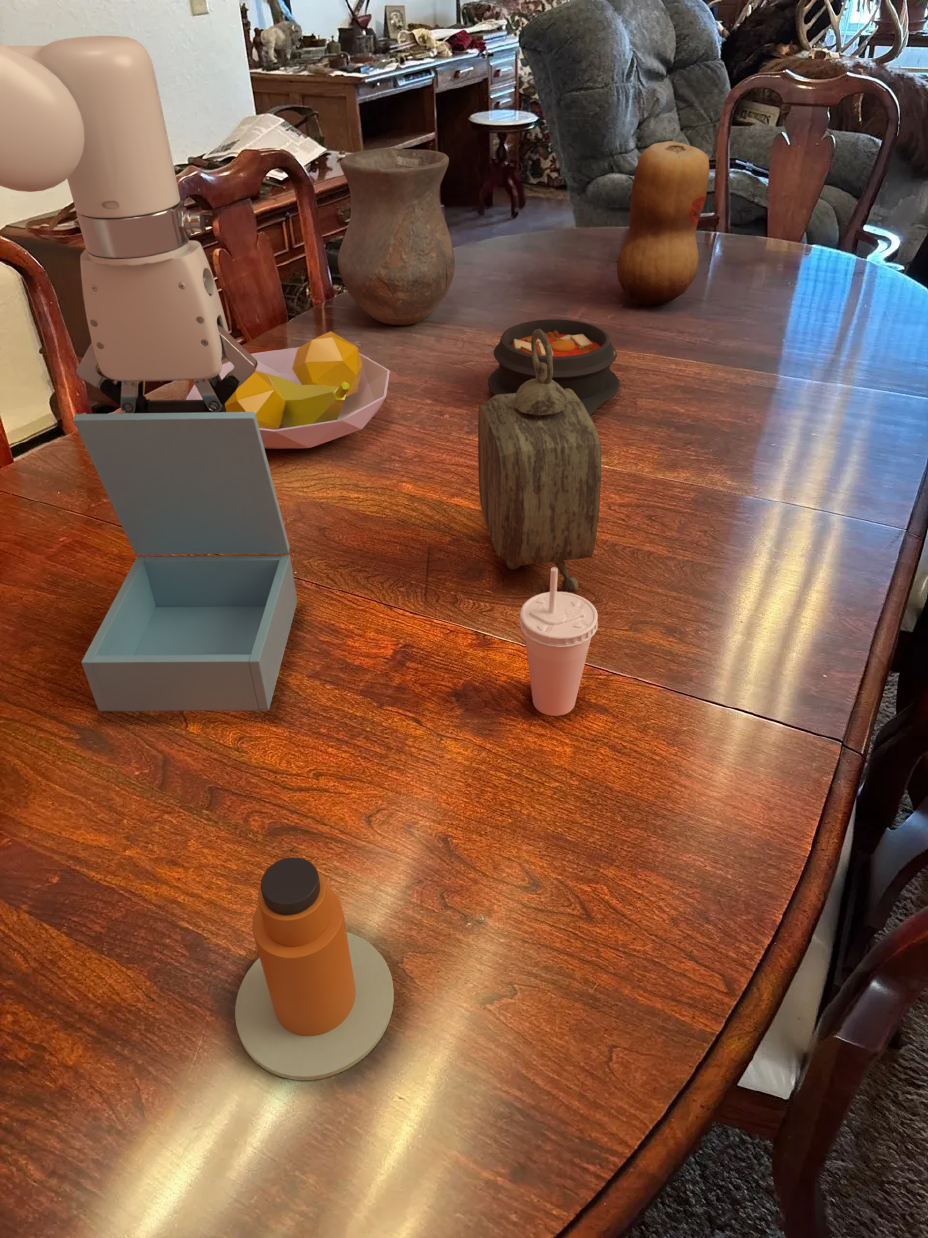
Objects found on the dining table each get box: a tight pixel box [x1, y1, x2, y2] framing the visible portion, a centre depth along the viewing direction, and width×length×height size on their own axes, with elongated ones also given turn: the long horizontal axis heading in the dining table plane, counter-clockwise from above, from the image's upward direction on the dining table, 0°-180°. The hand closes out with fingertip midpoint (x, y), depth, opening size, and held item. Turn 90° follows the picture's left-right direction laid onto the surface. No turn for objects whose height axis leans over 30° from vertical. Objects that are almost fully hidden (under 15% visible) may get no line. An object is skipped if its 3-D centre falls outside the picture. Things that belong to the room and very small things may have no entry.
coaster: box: [234, 931, 395, 1081], centre depth 59 cm, size 10×10×1 cm
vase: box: [337, 147, 456, 326], centre depth 149 cm, size 20×19×25 cm
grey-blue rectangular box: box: [80, 554, 298, 712], centre depth 84 cm, size 16×15×6 cm
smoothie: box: [518, 566, 599, 717], centre depth 76 cm, size 6×6×14 cm
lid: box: [72, 399, 291, 556], centre depth 83 cm, size 17×15×5 cm
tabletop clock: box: [477, 329, 602, 593], centre depth 90 cm, size 14×9×25 cm, turn 9°
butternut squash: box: [616, 140, 710, 306], centre depth 153 cm, size 14×13×25 cm
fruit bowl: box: [185, 330, 391, 450], centre depth 120 cm, size 28×27×11 cm
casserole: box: [487, 318, 621, 417], centre depth 129 cm, size 25×19×8 cm
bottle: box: [251, 856, 356, 1036], centre depth 55 cm, size 5×5×12 cm
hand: (186, 446), depth 80 cm, fingers closed on lid, 5 cm apart
